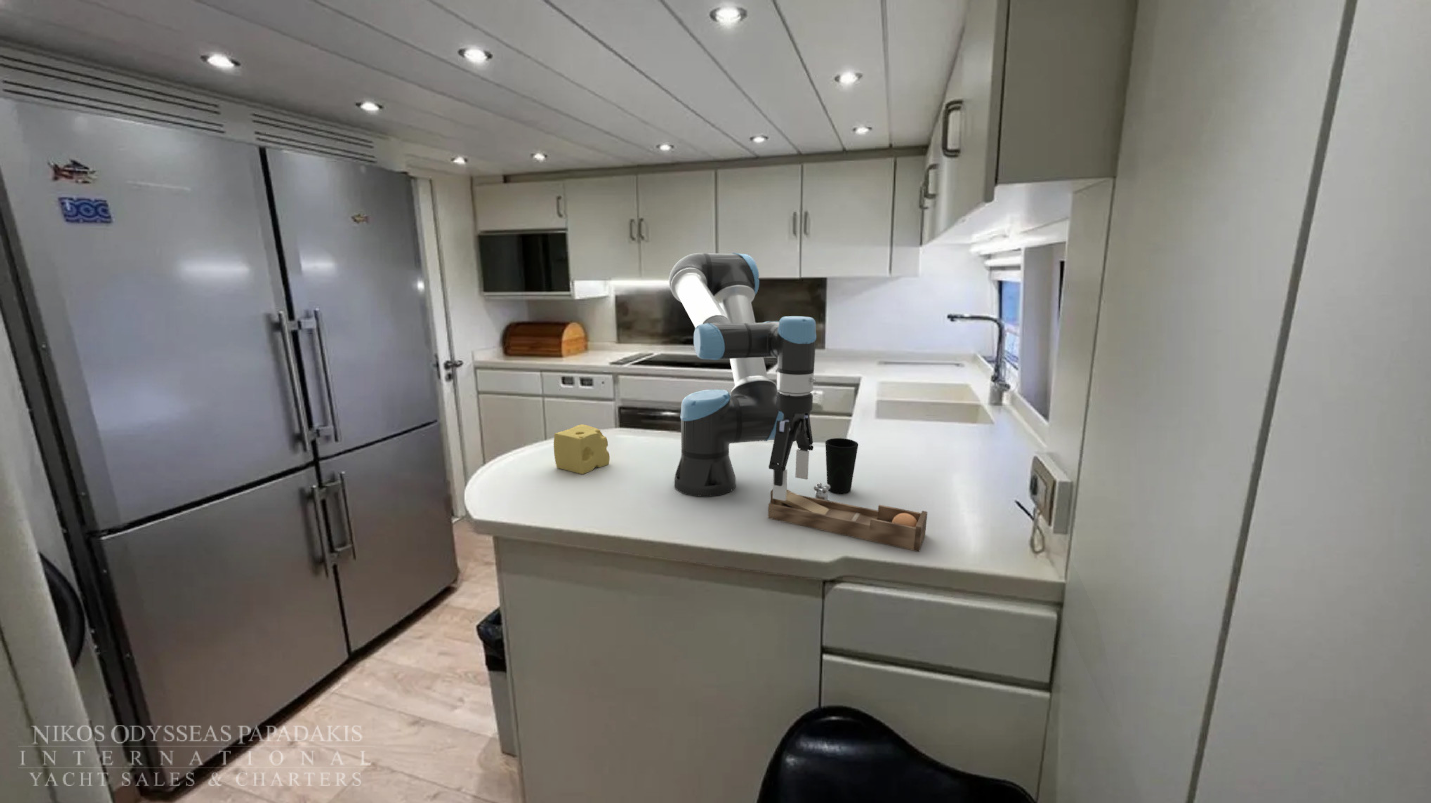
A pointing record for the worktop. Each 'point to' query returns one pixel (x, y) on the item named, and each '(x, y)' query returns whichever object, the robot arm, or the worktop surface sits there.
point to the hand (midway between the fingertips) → (791, 488)
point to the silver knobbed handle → (821, 491)
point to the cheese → (580, 449)
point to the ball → (905, 520)
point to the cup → (840, 464)
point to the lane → (850, 520)
